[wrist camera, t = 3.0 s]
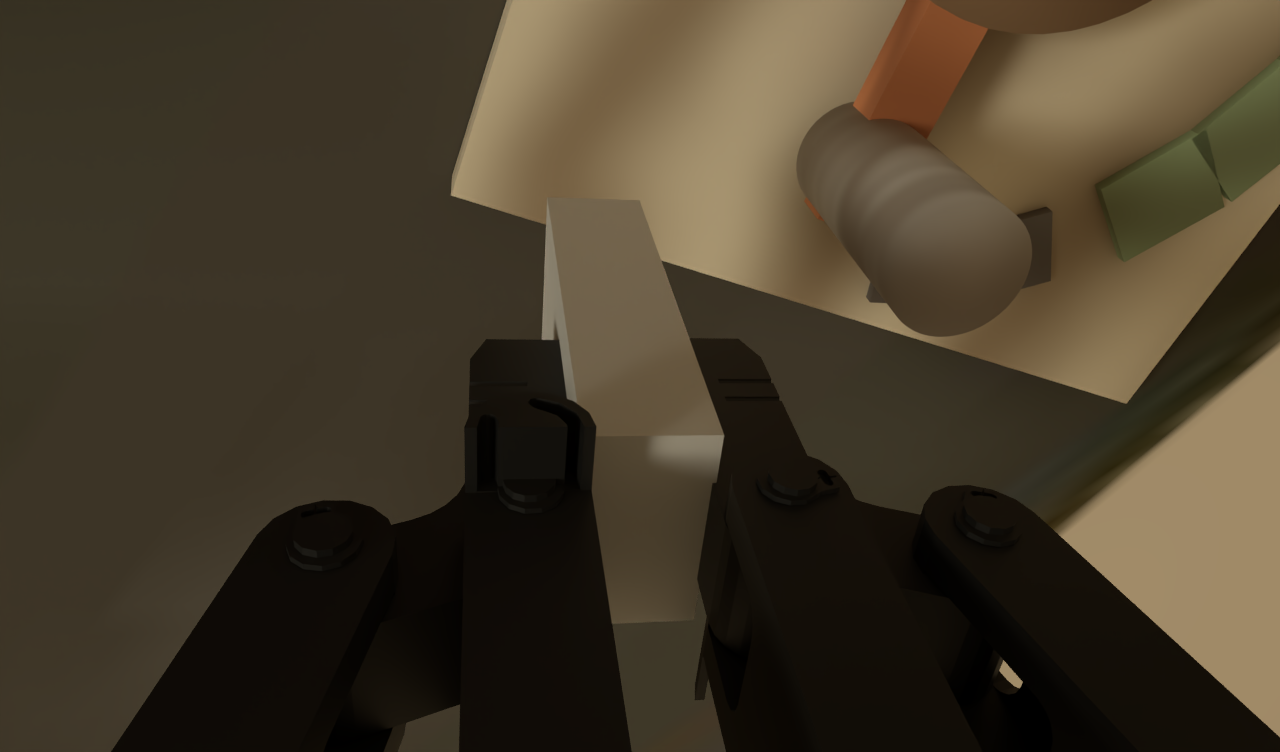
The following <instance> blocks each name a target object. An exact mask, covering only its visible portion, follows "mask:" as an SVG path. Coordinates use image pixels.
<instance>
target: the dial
mask: <svg viewBox="0 0 1280 752" xmlns="http://www.w3.org/2000/svg"><path fill="white" fill-rule="evenodd" d="M1150 1H1152V0H906V2H905V4H904V6H903V8H902V10H901V12H900V13H899V15H898V17H897V19H896V21H895V23H894V25H893V27H892V29H891V31H890V33H889V35H888V37H887V39H886V41H885V43H884V45H883V47H882V49H881V51H880V53H879V55H878V57H877V59H876V61H875V63H874V65H873V67H872V69H871V71H870V73H869V74H868V76H867V78H866V80H865V82H864V84H863V86H862V88H861V90H860V92H859V94H858V96H857V98H856V100H855V102H850V103H846V104H843V105H840V106H838V107H836V108H834V109H832V110H830V111H829V112H827V113H826V114H824V115H823V116H822V117H821V118H820V119H818V120H817V121H816V122H815V123H814V125H813V126H812V127H811V128H810V129H809V131H808V132H807V134H806V135H805V137H804V139H803V141H802V143H801V146H800V148H799V152H798V155H797V162H796V172H797V178H798V182H799V185H800V187H801V190H802V191H803V193H804V195H805V196H806V198H805V200H804V202H805V203H806V204H807V206H808V207H809V208H810V210H811V211H812V212H813V214H814V215H815V216H816V218H817V219H819V220H822V221H825V223H826V224H827V225H828V226H829V228H830V229H831V230H832V232H833V233H834V234H835V236H836V237H837V238H838V240H839V241H840V242H841V244H842V245H843V246H844V248H845V249H846V250H847V252H848V253H849V254H850V256H851V257H852V258H853V260H854V261H855V262H856V264H857V265H858V266H859V267H860V269H861V270H862V271H863V273H864V274H865V275H866V277H867V278H868V279H869V281H870V282H871V283H872V285H873V286H874V287H875V289H876V290H877V291H878V293H879V294H880V295H881V297H882V298H883V299H884V301H885V302H886V303H887V305H888V306H889V307H890V308H891V310H892V311H893V312H894V314H895V315H896V316H897V318H898V319H899V320H900V321H901V322H902V323H903V324H904V325H905V326H907V327H908V328H910V329H911V330H913V331H915V332H918V333H920V334H923V335H927V336H934V337H948V336H955V335H960V334H964V333H967V332H970V331H972V330H975V329H977V328H979V327H981V326H983V325H985V324H986V323H988V322H990V321H991V320H993V319H994V318H995V317H997V316H998V315H999V314H1000V313H1001V312H1002V311H1004V310H1005V309H1006V308H1007V307H1008V306H1009V305H1010V303H1011V302H1012V301H1013V300H1014V299H1015V297H1016V296H1017V295H1018V293H1019V292H1020V290H1021V288H1022V286H1023V285H1024V283H1025V280H1026V278H1027V276H1028V273H1029V270H1030V266H1031V260H1032V244H1031V239H1030V235H1029V233H1028V230H1027V228H1026V226H1025V225H1024V223H1023V222H1022V221H1021V219H1020V218H1019V217H1018V216H1017V215H1016V214H1014V213H1013V212H1012V211H1011V210H1010V209H1008V208H1007V207H1006V206H1005V205H1004V204H1003V203H1001V202H1000V201H999V200H998V199H997V198H995V197H994V196H993V195H992V194H991V193H990V192H988V191H987V190H986V189H985V188H984V187H982V186H981V185H980V184H979V183H978V182H977V181H975V180H974V179H973V178H972V177H971V176H969V175H968V174H967V173H966V172H965V171H964V170H962V169H961V168H960V167H959V166H958V165H956V164H955V163H954V162H953V161H952V160H950V159H949V158H948V157H947V156H946V155H945V154H943V153H942V152H941V151H940V150H939V149H937V148H936V147H935V146H934V145H933V144H932V143H930V142H929V141H928V140H927V138H928V136H929V134H930V133H931V131H932V129H933V127H934V125H935V124H936V122H937V120H938V118H939V116H940V115H941V113H942V111H943V109H944V107H945V106H946V104H947V102H948V100H949V98H950V97H951V95H952V93H953V91H954V89H955V88H956V86H957V84H958V82H959V80H960V79H961V77H962V75H963V73H964V71H965V70H966V68H967V66H968V64H969V63H970V61H971V59H972V57H973V55H974V54H975V52H976V50H977V48H978V46H979V45H980V43H981V41H982V39H983V37H984V36H985V34H986V32H987V30H988V29H993V30H998V31H1004V32H1009V33H1015V34H1050V33H1058V32H1067V31H1073V30H1077V29H1081V28H1085V27H1089V26H1093V25H1097V24H1100V23H1103V22H1106V21H1108V20H1111V19H1113V18H1116V17H1119V16H1121V15H1124V14H1126V13H1129V12H1131V11H1133V10H1135V9H1136V8H1138V7H1140V6H1142V5H1144V4H1146V3H1148V2H1150Z"/></svg>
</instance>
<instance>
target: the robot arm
mask: <svg viewBox="0 0 1280 752" xmlns="http://www.w3.org/2000/svg"><path fill="white" fill-rule="evenodd" d="M464 432H465V484H464V485H463V487H462V489H461V490H460V492H459V493H458V495H457V496H455V497H454V498H453V499H452V500H451V501H450V502H449V503H448V504H446V505H445V506H443V507H441V508H440V509H438V510H436V511H434V512H432V513H430V514H428V515H425V516H422V517H419V518H416V519H413V520H409V521H405V522H401V523H397V524H393V525H391V524H390V522H389V519H388V518H386V517H385V516H383V515H382V514H381V513H379V512H378V511H377V510H375V509H374V508H373V507H370V506H366V505H363V504H359V503H356V502H352V501H319V502H315V503H310V504H306V505H302V506H298V507H295V508H293V509H291V510H289V511H287V512H285V513H283V514H281V515H280V516H278V517H276V518H274V519H273V520H272V521H271V522H270V523H269V524H268V525H267V526H266V527H264V528H263V529H262V530H261V531H260V532H259V533H258V534H257V536H256V537H255V539H254V540H253V542H252V543H251V545H250V546H249V548H248V549H247V551H246V552H245V554H244V555H243V557H242V558H241V559H240V561H239V562H238V564H237V565H236V567H235V568H234V570H233V571H232V573H231V574H230V576H229V577H228V579H227V580H226V582H225V583H224V585H223V586H222V588H221V589H220V591H219V592H218V594H217V595H216V597H215V598H214V600H213V601H212V603H211V604H210V606H209V607H208V609H207V610H206V612H205V613H204V615H203V616H202V617H201V619H200V620H199V622H198V623H197V625H196V626H195V628H194V629H193V631H192V632H191V634H190V635H189V637H188V638H187V640H186V641H185V643H184V644H183V646H182V647H181V649H180V650H179V652H178V653H177V655H176V656H175V658H174V659H173V661H172V662H171V664H170V665H169V667H168V668H167V670H166V671H165V672H164V674H163V675H162V677H161V678H160V680H159V681H158V683H157V684H156V686H155V687H154V689H153V690H152V692H151V693H150V695H149V696H148V698H147V699H146V701H145V702H144V704H143V705H142V707H141V708H140V710H139V711H138V713H137V714H136V716H135V717H134V719H133V720H132V722H131V723H130V725H129V726H128V728H127V729H126V730H125V732H124V733H123V735H122V736H121V738H120V739H119V741H118V742H117V744H116V745H115V747H114V748H113V750H112V751H111V752H398V749H399V746H400V744H401V741H402V738H403V736H404V732H405V724H406V723H407V722H409V721H412V720H415V719H418V718H421V717H424V716H427V715H430V714H433V713H436V712H439V711H441V710H444V709H447V708H450V707H453V706H456V705H459V704H460V737H459V752H632V751H631V745H630V738H629V732H628V725H627V719H626V712H625V705H624V699H623V692H622V686H621V679H620V673H619V666H618V660H617V653H616V646H615V640H614V633H613V627H612V624H614V623H639V622H663V621H687V620H694V617H695V610H696V604H697V598H698V592H699V588H700V592H701V596H702V600H703V604H704V607H705V611H706V615H707V619H706V624H705V630H704V636H703V642H702V648H701V653H700V659H699V665H698V671H697V676H696V682H695V700H704V698H705V692H706V687H707V681H708V679H709V683H710V687H711V691H712V695H713V699H714V704H715V708H716V712H717V716H718V720H719V724H720V728H721V732H722V736H723V741H724V745H725V749H726V752H1280V737H1279V736H1278V735H1276V733H1274V732H1273V731H1272V730H1271V729H1270V728H1269V727H1268V726H1267V725H1266V724H1265V723H1263V722H1262V721H1261V720H1260V719H1259V718H1258V717H1257V716H1256V715H1255V714H1253V713H1252V712H1251V711H1250V710H1249V709H1248V708H1247V707H1246V706H1245V705H1244V704H1243V703H1242V702H1240V701H1239V700H1238V699H1237V698H1236V697H1235V696H1234V695H1233V694H1232V693H1231V692H1230V691H1229V690H1227V689H1226V688H1225V687H1224V686H1223V685H1222V684H1221V683H1220V682H1219V681H1218V680H1216V679H1215V678H1214V677H1213V676H1212V675H1211V674H1210V673H1209V672H1208V671H1207V670H1206V669H1204V668H1203V667H1202V666H1201V665H1200V664H1199V663H1198V662H1197V661H1196V660H1195V659H1194V658H1193V657H1191V656H1190V655H1189V654H1188V653H1187V652H1186V651H1185V650H1184V649H1182V648H1181V646H1179V645H1178V644H1177V643H1176V642H1175V641H1174V640H1173V639H1172V638H1171V637H1169V636H1168V635H1167V634H1166V633H1165V632H1164V631H1163V630H1162V629H1161V628H1160V627H1159V626H1158V625H1156V624H1155V623H1154V622H1153V621H1152V620H1151V619H1150V618H1149V617H1148V616H1147V615H1146V614H1144V613H1143V612H1142V611H1141V610H1140V609H1139V608H1138V607H1137V606H1136V605H1135V604H1134V603H1132V602H1131V601H1130V600H1129V599H1128V598H1127V597H1126V596H1125V595H1124V594H1123V593H1121V592H1120V591H1119V590H1118V589H1117V588H1116V587H1115V586H1114V585H1113V584H1112V583H1111V582H1110V581H1108V580H1107V579H1106V578H1105V577H1104V576H1103V575H1102V574H1101V573H1100V572H1099V571H1097V570H1096V569H1095V568H1094V567H1093V566H1092V565H1091V564H1090V563H1089V562H1087V560H1085V559H1084V558H1083V557H1082V556H1081V555H1080V554H1079V553H1078V552H1077V551H1076V550H1075V549H1073V548H1072V547H1071V546H1070V545H1069V544H1068V543H1067V542H1066V541H1065V540H1064V539H1063V538H1061V537H1060V536H1059V535H1058V534H1057V533H1056V532H1055V531H1054V530H1053V529H1052V528H1051V527H1049V526H1048V525H1047V524H1046V523H1045V522H1044V521H1043V520H1042V519H1041V518H1040V517H1038V516H1037V515H1036V514H1035V513H1034V512H1033V511H1031V510H1030V509H1028V508H1027V507H1025V506H1024V505H1023V504H1021V503H1020V502H1018V501H1017V500H1016V499H1013V498H1011V497H1009V496H1006V495H1004V494H1001V493H999V492H997V491H994V490H991V489H986V488H981V487H976V486H971V485H963V486H948V487H945V488H943V489H940V490H938V491H935V492H933V493H932V494H931V496H930V497H929V498H928V500H927V501H926V502H925V504H924V507H923V510H922V513H921V515H919V514H914V513H909V512H904V511H899V510H894V509H889V508H884V507H879V506H875V505H872V504H868V503H864V502H861V501H858V500H856V499H855V498H854V496H853V494H852V492H851V490H850V488H849V486H848V484H847V483H846V482H845V481H844V480H843V478H842V477H841V476H840V475H839V473H838V472H837V471H836V470H834V469H833V468H831V467H830V466H828V465H826V464H825V463H823V462H822V461H820V460H818V459H815V458H812V457H809V456H807V454H806V452H805V450H804V448H803V446H802V443H801V441H800V439H799V437H798V435H797V433H796V431H795V429H794V426H793V424H792V422H791V420H790V418H789V416H788V414H787V412H786V410H785V407H784V405H783V403H782V401H779V395H778V393H777V390H776V388H775V386H774V384H773V383H771V378H770V376H769V373H768V371H767V369H766V367H765V365H764V363H763V361H762V359H761V357H760V356H758V355H757V354H756V353H755V352H754V351H752V350H751V349H750V348H749V347H747V346H746V345H745V344H744V343H743V342H741V341H740V340H739V339H702V338H689V336H688V333H687V331H686V328H685V325H684V322H683V320H682V317H681V314H680V311H679V309H678V306H677V303H676V300H675V297H674V295H673V292H672V289H671V286H670V284H669V281H668V278H667V275H666V272H665V270H664V267H663V264H662V261H661V259H660V256H659V253H658V250H657V248H656V245H655V242H654V239H653V236H652V234H651V231H650V228H649V225H648V223H647V220H646V217H645V214H644V211H643V209H642V206H641V203H640V200H618V199H586V198H555V197H547V217H546V244H545V270H544V296H543V323H542V340H496V339H486V340H485V342H484V343H483V344H482V345H481V346H480V348H479V349H478V350H477V351H476V353H475V354H474V355H473V356H472V358H471V359H470V388H469V417H468V420H467V422H466V425H465V428H464ZM1003 660H1004V661H1005V662H1006V663H1007V664H1008V665H1009V667H1010V668H1011V669H1012V670H1013V671H1014V672H1015V673H1016V675H1017V676H1018V677H1019V678H1020V679H1021V680H1022V681H1023V683H1022V686H1021V688H1020V689H1019V688H1017V687H1014V686H1013V685H1012V684H1011V683H1010V682H1009V681H1007V680H1006V678H1005V677H1004V676H1003V675H1002V674H1001V673H1000V671H999V669H1000V667H1001V664H1002V662H1003Z"/></svg>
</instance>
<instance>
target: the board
mask: <svg viewBox="0 0 1280 752" xmlns="http://www.w3.org/2000/svg"><path fill="white" fill-rule="evenodd" d="M905 2H906V0H507V2H506V5H505V8H504V11H503V14H502V18H501V21H500V24H499V27H498V30H497V34H496V37H495V40H494V43H493V46H492V50H491V53H490V56H489V59H488V62H487V66H486V69H485V72H484V75H483V78H482V82H481V85H480V88H479V91H478V94H477V98H476V101H475V104H474V107H473V110H472V114H471V117H470V120H469V123H468V126H467V130H466V133H465V136H464V139H463V142H462V146H461V149H460V152H459V155H458V159H457V162H456V165H455V168H454V171H453V175H452V189H451V195H452V196H455V197H458V198H461V199H464V200H468V201H471V202H474V203H477V204H481V205H484V206H487V207H490V208H494V209H497V210H500V211H503V212H507V213H510V214H513V215H516V216H520V217H523V218H526V219H529V220H533V221H536V222H539V223H542V224H546V217H547V197H555V198H586V199H618V200H640V203H641V206H642V209H643V211H644V214H645V217H646V220H647V223H648V225H649V228H650V231H651V234H652V236H653V239H654V242H655V245H656V248H657V250H658V253H659V256H660V259H661V260H662V261H665V262H669V263H672V264H675V265H678V266H682V267H685V268H688V269H691V270H695V271H698V272H701V273H704V274H708V275H711V276H714V277H717V278H721V279H724V280H727V281H730V282H733V283H737V284H740V285H743V286H746V287H750V288H753V289H756V290H759V291H763V292H766V293H769V294H772V295H776V296H779V297H782V298H785V299H789V300H792V301H795V302H798V303H802V304H805V305H808V306H811V307H815V308H818V309H821V310H824V311H827V312H831V313H834V314H837V315H840V316H844V317H847V318H850V319H853V320H857V321H860V322H863V323H866V324H870V325H873V326H876V327H879V328H883V329H886V330H889V331H892V332H896V333H899V334H902V335H905V336H909V337H912V338H915V339H918V340H921V341H925V342H928V343H931V344H934V345H938V346H941V347H944V348H947V349H951V350H954V351H957V352H960V353H964V354H967V355H970V356H973V357H977V358H980V359H983V360H986V361H990V362H993V363H996V364H999V365H1002V366H1006V367H1009V368H1012V369H1015V370H1019V371H1022V372H1025V373H1028V374H1032V375H1035V376H1038V377H1041V378H1045V379H1048V380H1051V381H1054V382H1058V383H1061V384H1064V385H1067V386H1071V387H1074V388H1077V389H1080V390H1084V391H1087V392H1090V393H1093V394H1096V395H1100V396H1103V397H1106V398H1109V399H1113V400H1116V401H1119V402H1122V403H1126V404H1127V402H1128V401H1129V400H1130V398H1131V397H1132V396H1133V394H1134V393H1135V392H1136V391H1137V389H1138V388H1139V387H1140V385H1141V384H1142V383H1143V381H1144V380H1145V379H1146V377H1147V376H1148V375H1149V374H1150V372H1151V371H1152V370H1153V368H1154V367H1155V366H1156V364H1157V363H1158V362H1159V361H1160V359H1161V358H1162V357H1163V355H1164V354H1165V353H1166V351H1167V350H1168V349H1169V348H1170V346H1171V345H1172V344H1173V342H1174V341H1175V340H1176V338H1177V337H1178V336H1179V335H1180V333H1181V332H1182V331H1183V329H1184V328H1185V327H1186V325H1187V324H1188V323H1189V322H1190V320H1191V319H1192V318H1193V316H1194V315H1195V314H1196V312H1197V311H1198V310H1199V309H1200V307H1201V306H1202V305H1203V303H1204V302H1205V301H1206V299H1207V298H1208V297H1209V295H1210V294H1211V293H1212V292H1213V290H1214V289H1215V288H1216V286H1217V285H1218V284H1219V282H1220V281H1221V280H1222V279H1223V277H1224V276H1225V275H1226V273H1227V272H1228V271H1229V269H1230V268H1231V267H1232V266H1233V264H1234V263H1235V262H1236V260H1237V259H1238V258H1239V256H1240V255H1241V254H1242V253H1243V251H1244V250H1245V249H1246V247H1247V246H1248V245H1249V243H1250V242H1251V241H1252V240H1253V238H1254V237H1255V236H1256V234H1257V233H1258V232H1259V230H1260V229H1261V228H1262V227H1263V225H1264V224H1265V223H1266V221H1267V220H1268V219H1269V217H1270V216H1271V215H1272V213H1273V212H1274V211H1275V210H1276V208H1277V207H1278V206H1279V204H1280V0H1152V1H1150V2H1148V3H1146V4H1144V5H1142V6H1140V7H1138V8H1136V9H1135V10H1133V11H1131V12H1129V13H1126V14H1124V15H1121V16H1119V17H1116V18H1113V19H1111V20H1108V21H1106V22H1103V23H1100V24H1097V25H1093V26H1089V27H1085V28H1081V29H1077V30H1073V31H1067V32H1058V33H1050V34H1015V33H1009V32H1004V31H998V30H993V29H988V30H987V32H986V34H985V36H984V37H983V39H982V41H981V43H980V45H979V46H978V48H977V50H976V52H975V54H974V55H973V57H972V59H971V61H970V63H969V64H968V66H967V68H966V70H965V71H964V73H963V75H962V77H961V79H960V80H959V82H958V84H957V86H956V88H955V89H954V91H953V93H952V95H951V97H950V98H949V100H948V102H947V104H946V106H945V107H944V109H943V111H942V113H941V115H940V116H939V118H938V120H937V122H936V124H935V125H934V127H933V129H932V131H931V133H930V134H929V136H928V138H927V140H928V141H929V142H930V143H932V144H933V145H934V146H935V147H936V148H937V149H939V150H940V151H941V152H942V153H943V154H945V155H946V156H947V157H948V158H949V159H950V160H952V161H953V162H954V163H955V164H956V165H958V166H959V167H960V168H961V169H962V170H964V171H965V172H966V173H967V174H968V175H969V176H971V177H972V178H973V179H974V180H975V181H977V182H978V183H979V184H980V185H981V186H982V187H984V188H985V189H986V190H987V191H988V192H990V193H991V194H992V195H993V196H994V197H995V198H997V199H998V200H999V201H1000V202H1001V203H1003V204H1004V205H1005V206H1006V207H1007V208H1008V209H1010V210H1011V211H1012V212H1013V213H1014V214H1016V215H1017V216H1018V217H1019V218H1020V219H1021V221H1022V222H1023V223H1024V225H1025V226H1026V228H1027V230H1028V233H1029V235H1030V239H1031V244H1032V260H1031V266H1030V270H1029V273H1028V276H1027V278H1026V280H1025V283H1024V285H1023V286H1022V288H1021V290H1020V292H1019V293H1018V295H1017V296H1016V297H1015V299H1014V300H1013V301H1012V302H1011V303H1010V305H1009V306H1008V307H1007V308H1006V309H1005V310H1004V311H1002V312H1001V313H1000V314H999V315H998V316H997V317H995V318H994V319H993V320H991V321H990V322H988V323H986V324H985V325H983V326H981V327H979V328H977V329H975V330H972V331H970V332H967V333H964V334H960V335H955V336H948V337H934V336H927V335H923V334H920V333H918V332H915V331H913V330H911V329H910V328H908V327H907V326H905V325H904V324H903V323H902V322H901V321H900V320H899V319H898V318H897V316H896V315H895V314H894V312H893V311H892V310H891V308H890V307H889V306H888V305H887V303H886V302H885V301H884V299H883V298H882V297H881V295H880V294H879V293H878V291H877V290H876V289H875V287H874V286H873V285H872V283H871V282H870V281H869V279H868V278H867V277H866V275H865V274H864V273H863V271H862V270H861V269H860V267H859V266H858V265H857V264H856V262H855V261H854V260H853V258H852V257H851V256H850V254H849V253H848V252H847V250H846V249H845V248H844V246H843V245H842V244H841V242H840V241H839V240H838V238H837V237H836V236H835V234H834V233H833V232H832V230H831V229H830V228H829V226H828V225H827V224H826V223H825V221H822V220H819V219H817V218H816V216H815V215H814V214H813V212H812V211H811V210H810V208H809V207H808V206H807V204H806V203H805V202H804V200H805V198H806V196H805V195H804V193H803V191H802V190H801V187H800V185H799V182H798V178H797V172H796V162H797V155H798V152H799V148H800V146H801V143H802V141H803V139H804V137H805V135H806V134H807V132H808V131H809V129H810V128H811V127H812V126H813V125H814V123H815V122H816V121H817V120H818V119H820V118H821V117H822V116H823V115H824V114H826V113H827V112H829V111H830V110H832V109H834V108H836V107H838V106H840V105H843V104H846V103H850V102H855V100H856V98H857V96H858V94H859V92H860V90H861V88H862V86H863V84H864V82H865V80H866V78H867V76H868V74H869V73H870V71H871V69H872V67H873V65H874V63H875V61H876V59H877V57H878V55H879V53H880V51H881V49H882V47H883V45H884V43H885V41H886V39H887V37H888V35H889V33H890V31H891V29H892V27H893V25H894V23H895V21H896V19H897V17H898V15H899V13H900V12H901V10H902V8H903V6H904V4H905Z"/></svg>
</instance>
